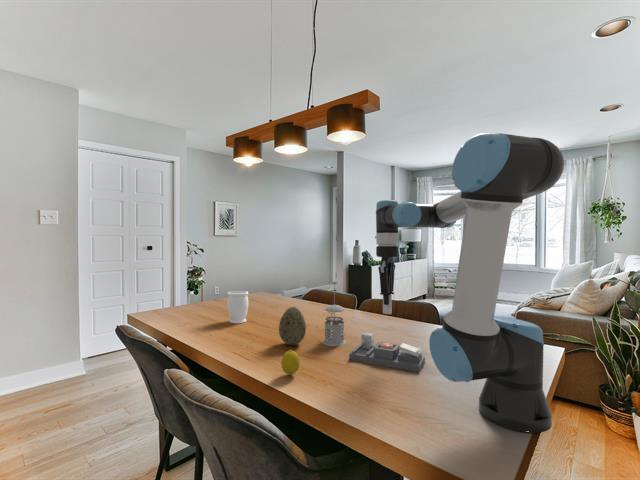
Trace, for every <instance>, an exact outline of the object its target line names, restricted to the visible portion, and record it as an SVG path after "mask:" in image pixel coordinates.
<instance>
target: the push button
mask: <svg viewBox="0 0 640 480" xmlns="http://www.w3.org/2000/svg"><path fill="white" fill-rule="evenodd" d="M390 343H391V342H386V343H381V344H380V348H385V349H391V350H392V349H393V344H394V343H393V344H390Z"/></svg>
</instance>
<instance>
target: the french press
mask: <svg viewBox="0 0 640 480" xmlns="http://www.w3.org/2000/svg"><path fill="white" fill-rule="evenodd" d="M337 284H338V282H337V281H336V280H333V281H332V285H333V302H334V303H333V304H330V305H327V306H326V307H324V311H326V312H327V314H330V316H327V317H326V318H325V320H326V321H324V339H323V341H322V344H323V345H325V346H328V347H341V346H345V345H346V344H347V341H346V340H345V329H344V328H345V322H344V318H343V317H341V316H340V317H339V316H335V313H341V312H344V311H345V308H344V307H343V306H341V305H339V304H335V303H336V301H335V300H336V299H335V297H336V294H335V293H336V291H335V290H336V287H335V286H336V285H337Z"/></svg>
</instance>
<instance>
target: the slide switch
mask: <svg viewBox="0 0 640 480" xmlns="http://www.w3.org/2000/svg"><path fill="white" fill-rule="evenodd" d="M374 337H375V334H374V333H372V332H362V333H361V343H362V348H364V349H371V348H372V347H373V346H374V343H375V342H374V339H375V338H374Z"/></svg>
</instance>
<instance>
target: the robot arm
mask: <svg viewBox="0 0 640 480" xmlns="http://www.w3.org/2000/svg"><path fill="white" fill-rule="evenodd" d="M564 169H565V160H564V156H563V153H562V151H561V149H560V148H559V147H558V146H557V145H556V144H555V143H553V142H552V141H550V140H549V139H548V140H547V139H544V138H541V137H531V136H523V135H517V134H510V133H509V134H506V133H502V132H494V133H491V132H487V133H486V132H483V133H478V134H476V135H473V136H471V137H470V138H469V139H468V140H466V141H465V142H464V144H463V145H462V146H460V148H459V150H458V152H457V153H456V155H455V157H454V160H453V163H452V168H451V178H452V180H453V186H455V187H456V189H458V190H459V191H458V192H457V193H456V192H455V193H454V194H452V195H451V196H448V197H446V198H444V199H443V200H441V201H438V202H436V203H434V204H430V203H429V204H427V203H426V204H424V203H421V204H420V203H415V202H411V201H409V202H405V201H404V202H400V203H398V201H397V200H394V199H393V200H392V199H388V200H387V199H386V200H385V199H383V200H379V201H377V203H376V208H375V210H376V211H375V222H376V223H375V225H376V226H375V228H376V229H375V232H376V233H375V234H376V235H375V236H374V239H375V241H376V242H375V244H376V245H377V246H376V248H375V250H376V251H375V255H376V257H378V258H381V259H380V260H381V261H380V264H379V266H378V275H379V285H380V287H379V288H380V293H379V295H381V296H382V314H385V315H392V313H393V312H392V311H393V310H392V309H393V305H392V302H393V301H392V300H393V299H392V298H393V296H392V295H395V292H394V287H395V286H394V285H395V269H396V264H395V262H394V258H397V257H398V256H399V246H398V245H399V228H430V229H431V228H433V229H434V228H437V229H444V228H451V227H453V226H454V225H455V223H457V222H458V221H459V220H461V219H464V225H463V230H462V231H463V232H462V238H461V245H460V252H459V259H458V266H457V273H456V280H455V287H454V295H453V299H452V308H451V310H450V311H447V313H445V314H444V315H443V320H442V327H441V328H440V327H438V328H436V329H434V330H433V331H432V332H430V335H429V341H428V342H429V343H428V344H429V351H430V355H431V358H432V360H433V362H434V366H435V367H436V368H437V370H438V371H439V373H440V374H441V376H443V377H444V378H446V379H447V380H449V381H451V382H454V383H461V382H465V383H470V382H472V381H478V380H485V382H484V385H483V387H482V389H481V392H480V395H479V397H478V410H479V412H480V413H481V414H482V415H483V416H484V418H486V419H487V420H489V421H491V422H493V424H496V425H498V426H501V427H503V428H506V429H509V430H512V431H516V430H517V432H520V431H523V432H522V433H525V432H524V431H529V432H532V433H531V434H537V433H544V432H547V431H549V430H550V429H551V428H552V424H553V423H552V420H553V417H552V412H551V409H550V406H549V403H548V399H547V398H546V395H545V392H544V390H543V388H544V387H543V386H544V385H543V384H544V381H543V380H544V345H545V342H544V331H543V329H542V328H541V327H540V326H539V325H537V324H535V323H532V322H530V321H527V320H526V321H525V320H522V319H519V318H518V319H517V318H512V317H506V316H500V315H495V313H496V308H497V301H498V296H499V289H500V284H501V277H502V272H503V266H504V260H505V255H506V250H507V243H508V238H509V231H510V226H511V220H512V214H513V212H514V211H515V209H517V208H518V207H520V206H522V205H523V200H526V199H529V198H532V197H535V196H537V195H539V194H542V193H545V192H546V191H548V190H550V189H551V188H552V187H554V186H555V184H557V183H558V181H559V180H560V178H561V177H562V175H563V171H564Z"/></svg>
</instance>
